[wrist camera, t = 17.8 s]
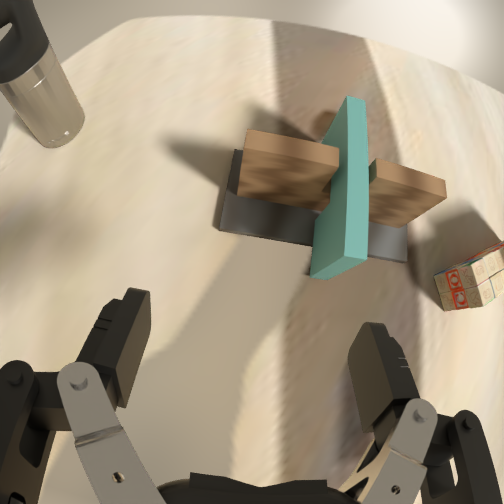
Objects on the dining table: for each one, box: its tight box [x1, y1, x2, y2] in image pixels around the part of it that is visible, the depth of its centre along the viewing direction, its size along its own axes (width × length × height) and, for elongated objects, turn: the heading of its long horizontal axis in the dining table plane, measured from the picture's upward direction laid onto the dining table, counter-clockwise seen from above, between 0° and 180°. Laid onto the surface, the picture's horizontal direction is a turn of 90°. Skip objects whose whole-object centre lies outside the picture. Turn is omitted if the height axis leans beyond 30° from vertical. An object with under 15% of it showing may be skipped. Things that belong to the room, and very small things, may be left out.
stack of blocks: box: [434, 241, 504, 311], centre depth 39 cm, size 21×6×12 cm, turn 108°
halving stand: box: [219, 129, 447, 263], centre depth 38 cm, size 27×12×13 cm, turn 82°
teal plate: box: [310, 96, 369, 280], centre depth 37 cm, size 20×2×12 cm, turn 172°
